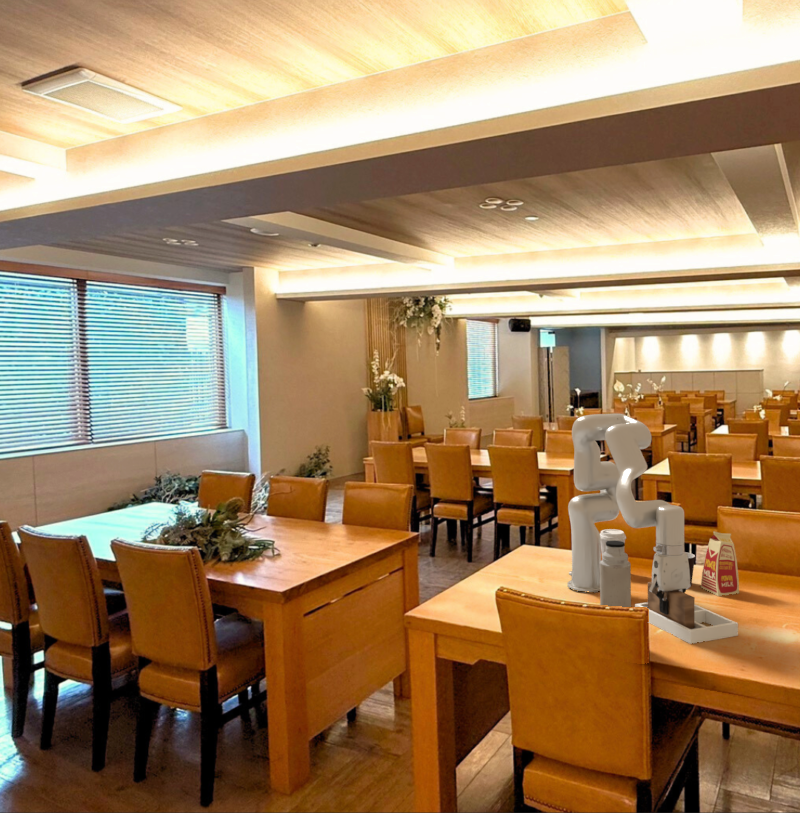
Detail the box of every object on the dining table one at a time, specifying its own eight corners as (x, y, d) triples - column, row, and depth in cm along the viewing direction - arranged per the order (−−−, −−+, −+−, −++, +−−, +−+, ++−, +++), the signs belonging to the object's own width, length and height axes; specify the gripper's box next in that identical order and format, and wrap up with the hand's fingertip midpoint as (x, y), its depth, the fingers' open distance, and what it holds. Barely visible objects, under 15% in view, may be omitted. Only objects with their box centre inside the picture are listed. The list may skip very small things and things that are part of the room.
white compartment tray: (635, 615, 220) (634, 604, 220) (678, 608, 226) (678, 597, 225) (690, 644, 198) (690, 631, 198) (738, 635, 203) (738, 623, 203)
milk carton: (718, 596, 236) (718, 534, 235) (699, 587, 245) (699, 528, 244) (742, 593, 238) (742, 532, 237) (722, 585, 247) (722, 526, 246)
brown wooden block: (647, 615, 217) (647, 582, 217) (656, 614, 218) (656, 581, 218) (684, 634, 202) (685, 598, 201) (694, 632, 203) (694, 597, 202)
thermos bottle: (596, 638, 203) (595, 538, 202) (625, 637, 204) (624, 537, 202) (605, 649, 195) (604, 546, 194) (635, 648, 196) (634, 545, 194)
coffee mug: (697, 588, 245) (697, 558, 244) (670, 587, 246) (670, 558, 246) (690, 578, 256) (690, 549, 255) (664, 577, 258) (664, 549, 257)
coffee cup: (596, 569, 270) (595, 528, 269) (622, 568, 269) (622, 528, 268) (602, 576, 260) (602, 535, 259) (629, 576, 260) (629, 534, 259)
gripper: (654, 555, 203) (654, 620, 204) (703, 549, 208) (702, 612, 209) (637, 548, 210) (637, 611, 211) (684, 542, 215) (684, 604, 216)
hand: (670, 611), depth 210 cm, fingers open, 3 cm apart
